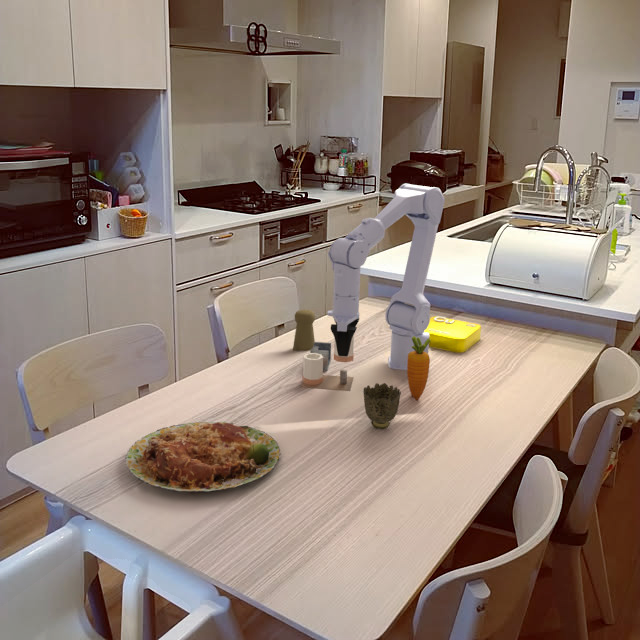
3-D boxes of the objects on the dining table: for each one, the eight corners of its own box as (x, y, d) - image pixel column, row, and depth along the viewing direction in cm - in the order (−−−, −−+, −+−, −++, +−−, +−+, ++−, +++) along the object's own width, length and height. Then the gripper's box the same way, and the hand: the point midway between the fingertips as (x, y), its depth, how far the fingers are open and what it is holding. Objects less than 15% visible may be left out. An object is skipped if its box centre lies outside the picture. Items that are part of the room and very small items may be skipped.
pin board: (353, 381, 165) (354, 365, 164) (350, 395, 157) (350, 378, 156) (306, 378, 166) (307, 361, 165) (301, 392, 159) (301, 374, 158)
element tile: (409, 343, 192) (410, 327, 191) (432, 329, 204) (433, 313, 203) (462, 355, 185) (463, 338, 183) (482, 339, 197) (483, 323, 195)
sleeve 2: (354, 355, 161) (355, 330, 159) (352, 362, 157) (353, 337, 155) (335, 354, 162) (335, 329, 160) (332, 361, 157) (333, 335, 156)
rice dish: (195, 419, 148) (194, 395, 146) (309, 448, 134) (308, 422, 133) (92, 478, 125) (89, 450, 123) (216, 521, 111) (214, 490, 110)
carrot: (429, 398, 157) (434, 334, 152) (423, 407, 152) (428, 341, 148) (408, 394, 159) (412, 331, 154) (401, 402, 154) (405, 338, 150)
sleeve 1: (320, 376, 164) (320, 352, 163) (324, 384, 160) (324, 359, 159) (301, 377, 164) (301, 353, 162) (305, 385, 159) (305, 360, 158)
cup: (374, 437, 139) (375, 400, 136) (355, 422, 145) (356, 386, 142) (405, 430, 142) (408, 393, 139) (385, 415, 148) (387, 380, 146)
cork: (315, 355, 181) (316, 314, 177) (291, 354, 181) (292, 313, 178) (316, 347, 187) (317, 307, 183) (293, 346, 187) (293, 306, 183)
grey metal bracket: (358, 367, 173) (359, 344, 172) (356, 377, 168) (357, 353, 166) (313, 364, 175) (314, 341, 173) (309, 373, 169) (310, 350, 167)
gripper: (332, 284, 162) (330, 340, 166) (323, 301, 148) (322, 362, 152) (362, 285, 161) (360, 342, 165) (357, 303, 147) (354, 364, 151)
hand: (344, 351), depth 159 cm, fingers closed on sleeve 2, 4 cm apart
